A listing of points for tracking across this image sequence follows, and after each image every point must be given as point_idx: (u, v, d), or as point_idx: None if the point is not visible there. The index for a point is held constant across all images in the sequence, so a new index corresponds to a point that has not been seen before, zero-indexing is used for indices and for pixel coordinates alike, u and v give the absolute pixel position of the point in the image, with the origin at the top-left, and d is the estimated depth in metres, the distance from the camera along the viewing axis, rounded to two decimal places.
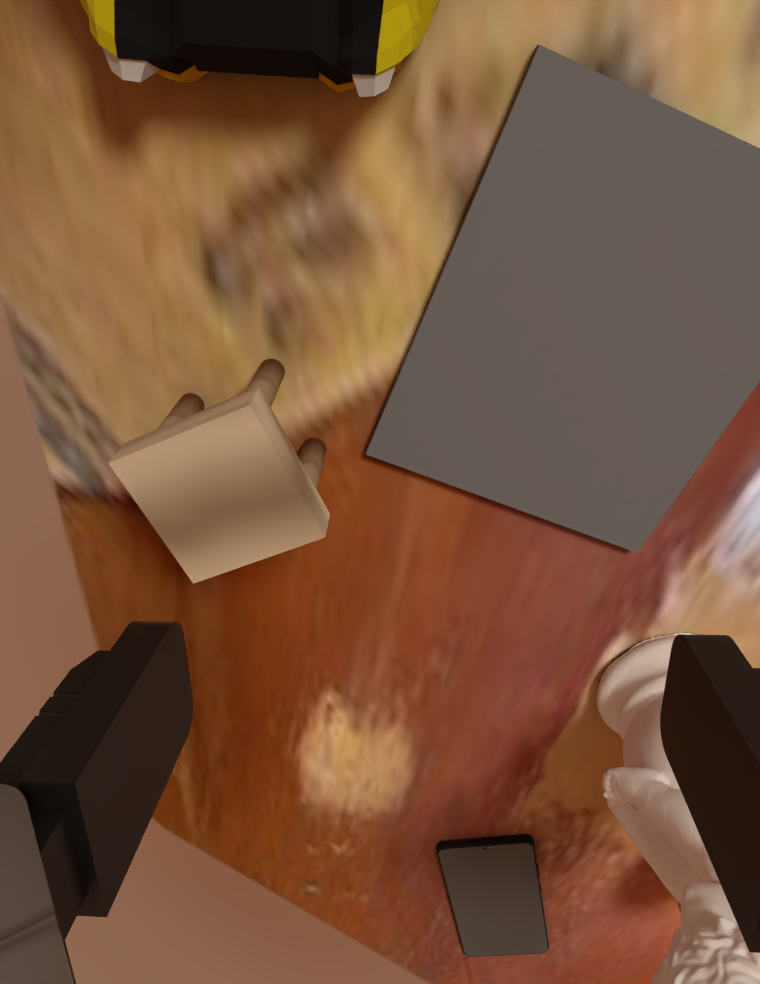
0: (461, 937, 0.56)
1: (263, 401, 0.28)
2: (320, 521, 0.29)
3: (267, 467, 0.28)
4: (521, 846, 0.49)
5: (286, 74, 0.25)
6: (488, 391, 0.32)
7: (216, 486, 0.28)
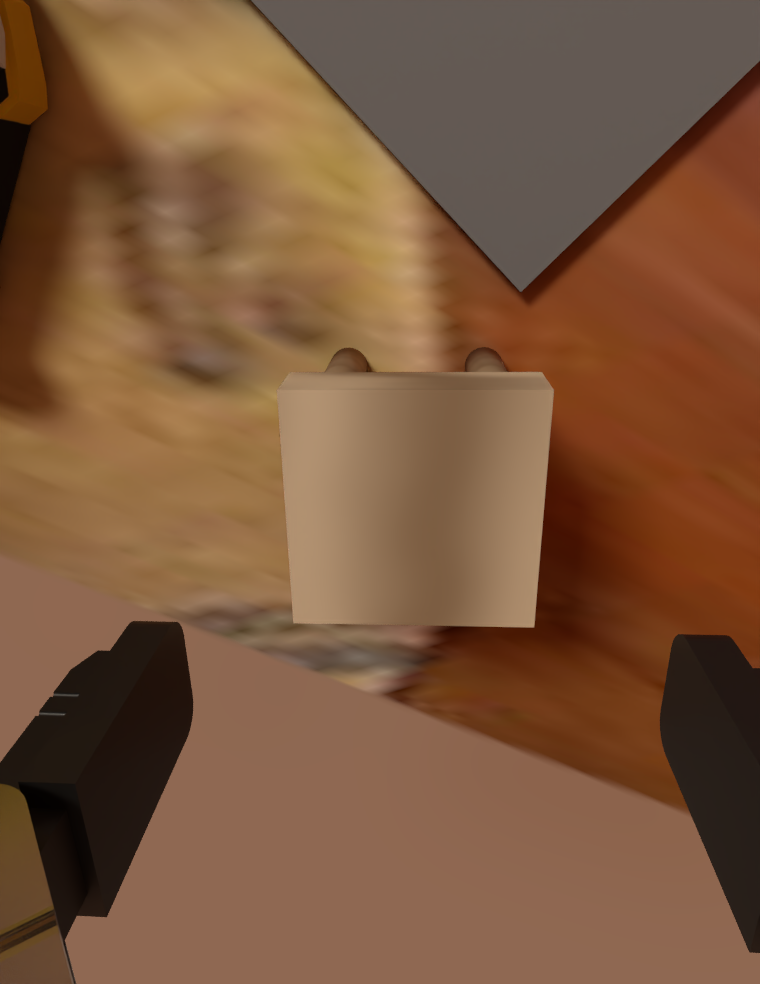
0: None
1: (307, 375, 0.18)
2: (526, 385, 0.17)
3: (388, 416, 0.17)
4: None
5: None
6: (507, 41, 0.19)
7: (388, 506, 0.18)
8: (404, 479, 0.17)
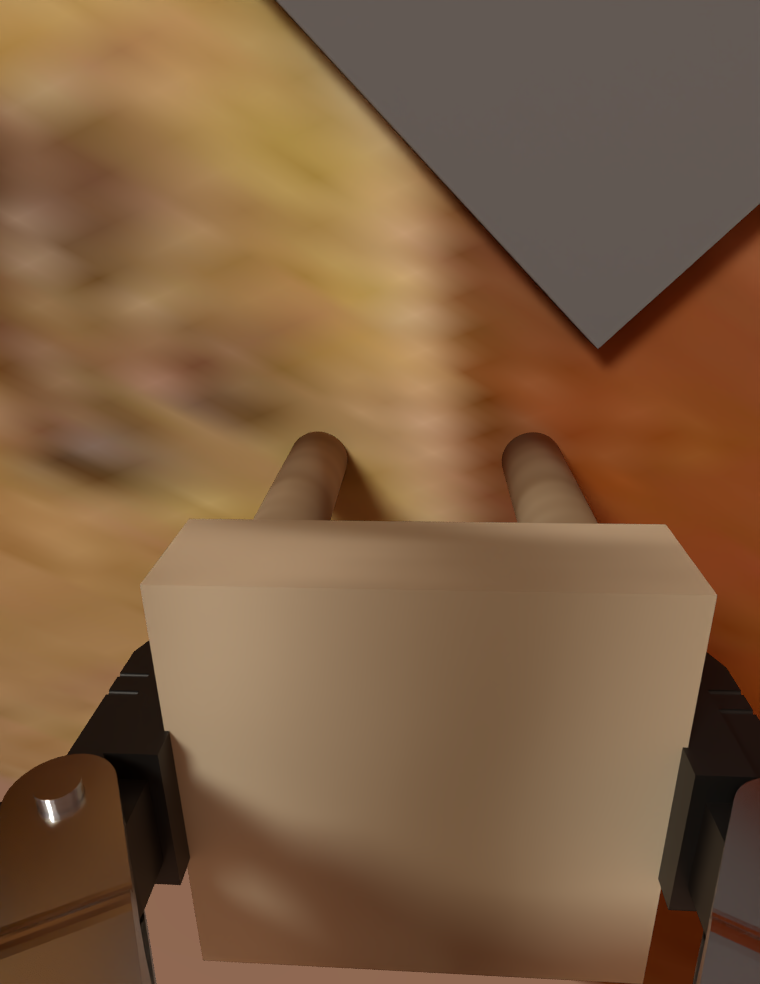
0: None
1: (218, 530, 0.09)
2: (653, 575, 0.08)
3: (370, 637, 0.08)
4: None
5: None
6: None
7: (370, 788, 0.09)
8: (402, 746, 0.09)
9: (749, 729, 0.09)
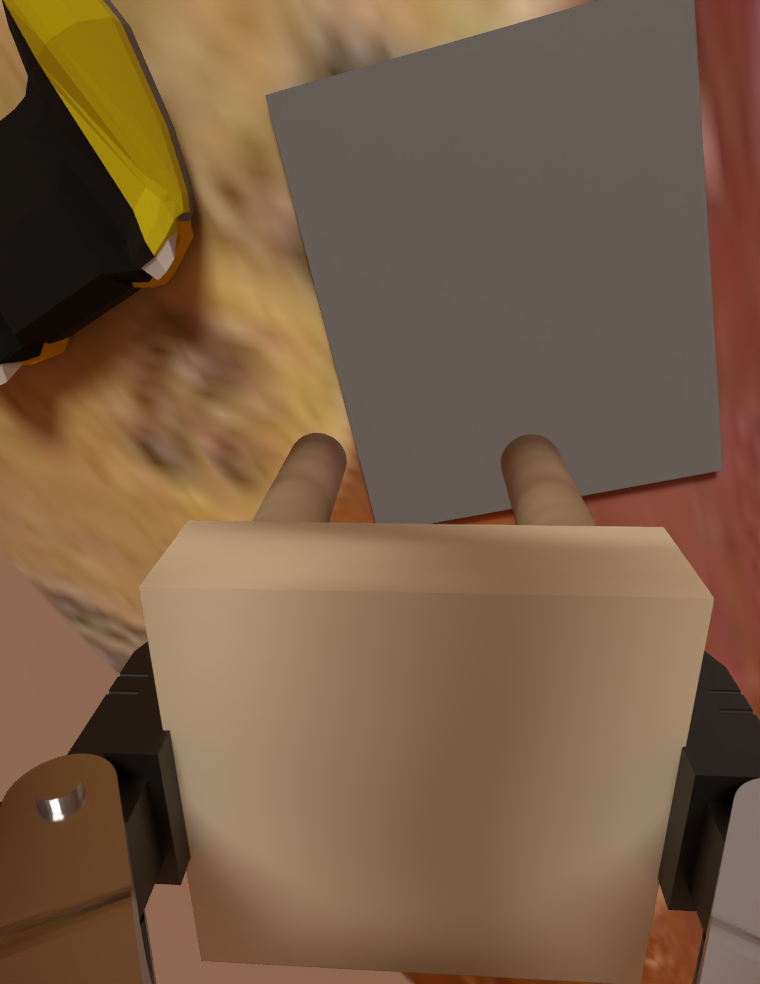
0: None
1: (217, 532, 0.09)
2: (651, 578, 0.08)
3: (368, 639, 0.08)
4: None
5: (108, 301, 0.27)
6: (444, 406, 0.30)
7: (369, 790, 0.09)
8: (400, 748, 0.09)
9: (749, 729, 0.09)
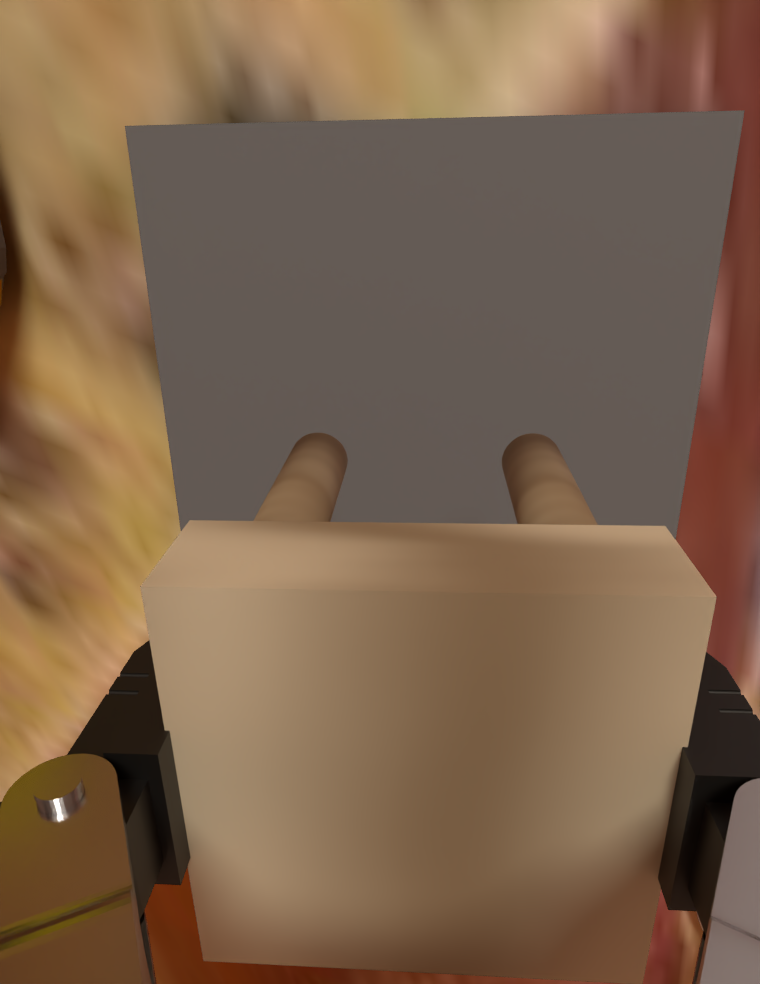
0: None
1: (219, 532, 0.09)
2: (653, 577, 0.08)
3: (370, 639, 0.08)
4: None
5: None
6: None
7: (370, 789, 0.09)
8: (402, 747, 0.09)
9: (749, 729, 0.09)
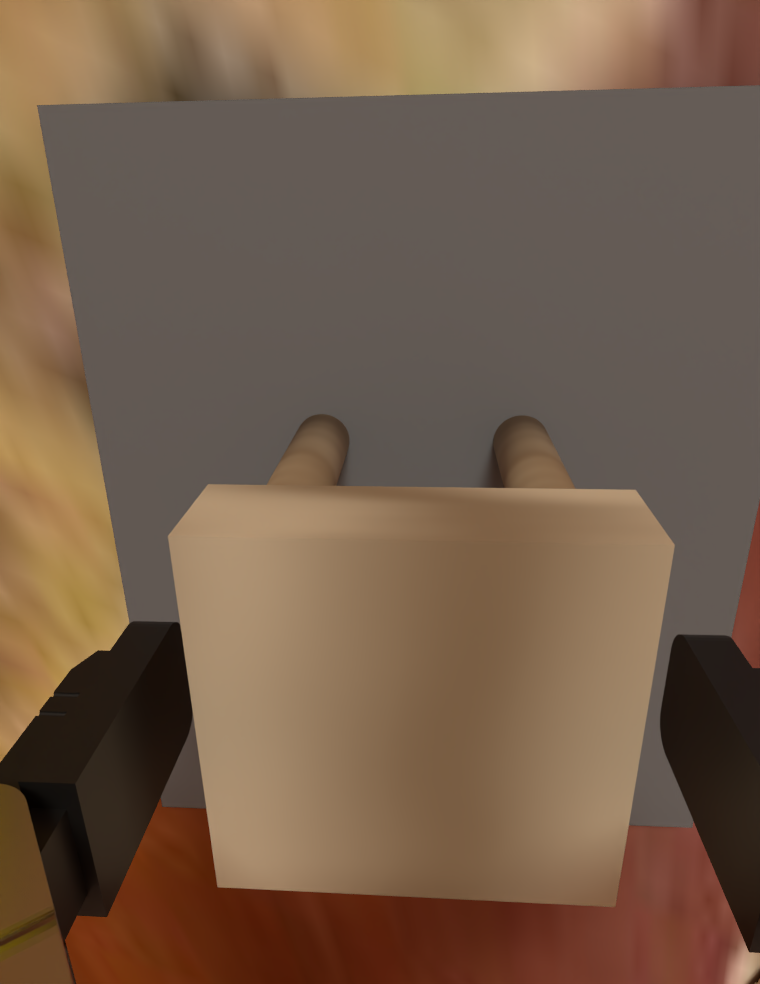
0: None
1: (234, 494, 0.10)
2: (620, 530, 0.09)
3: (370, 584, 0.09)
4: None
5: None
6: None
7: (370, 724, 0.10)
8: (398, 684, 0.10)
9: None
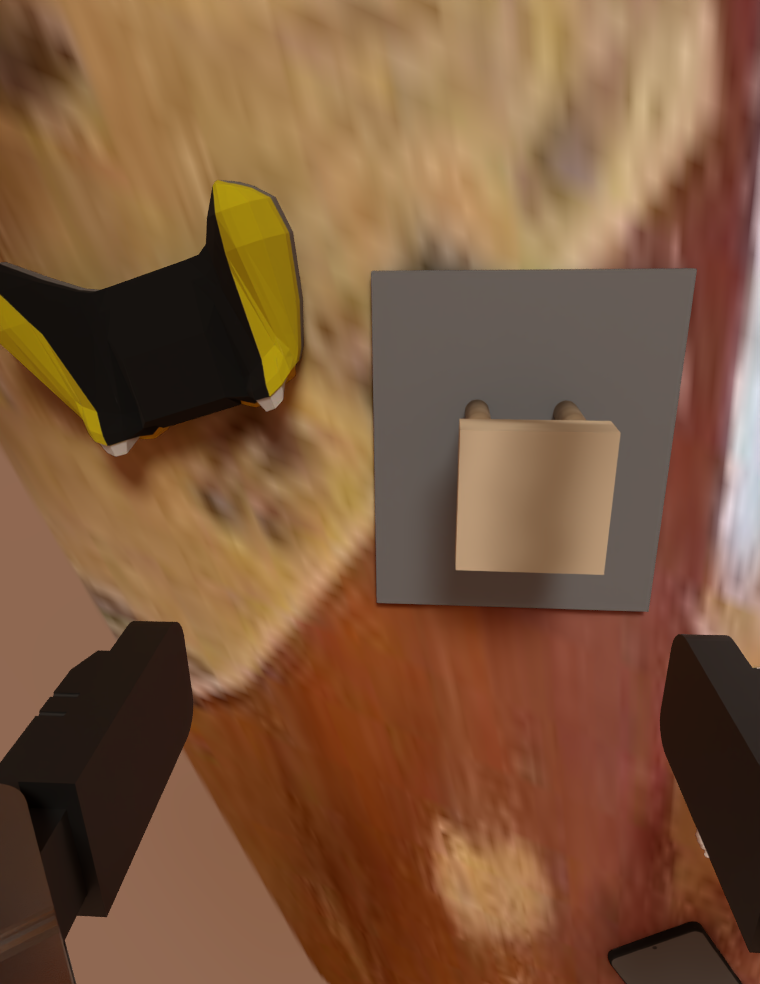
0: None
1: (471, 421, 0.30)
2: (604, 429, 0.29)
3: (524, 446, 0.29)
4: (691, 936, 0.47)
5: (219, 410, 0.35)
6: (451, 520, 0.38)
7: (519, 498, 0.30)
8: (530, 483, 0.29)
9: None
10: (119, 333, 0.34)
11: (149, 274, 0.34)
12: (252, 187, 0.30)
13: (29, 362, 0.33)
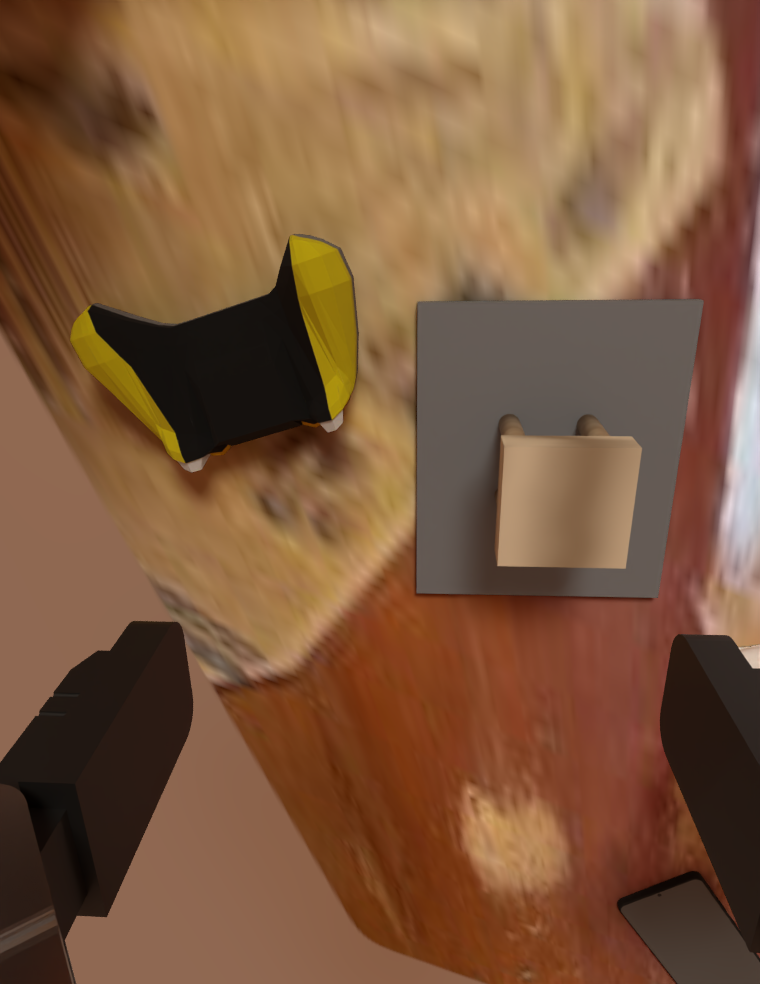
0: None
1: (512, 437, 0.35)
2: (627, 445, 0.34)
3: (559, 460, 0.34)
4: (692, 884, 0.53)
5: (282, 430, 0.40)
6: (484, 520, 0.43)
7: (554, 504, 0.35)
8: (563, 491, 0.34)
9: None
10: (196, 364, 0.38)
11: (222, 311, 0.38)
12: (322, 241, 0.34)
13: (118, 391, 0.37)
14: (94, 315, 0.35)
